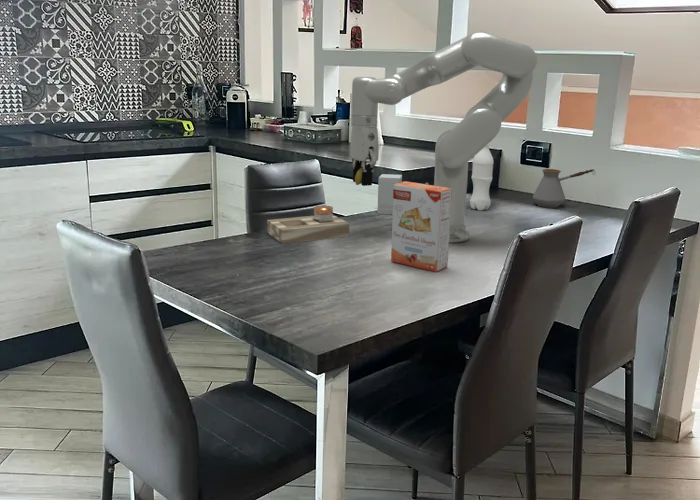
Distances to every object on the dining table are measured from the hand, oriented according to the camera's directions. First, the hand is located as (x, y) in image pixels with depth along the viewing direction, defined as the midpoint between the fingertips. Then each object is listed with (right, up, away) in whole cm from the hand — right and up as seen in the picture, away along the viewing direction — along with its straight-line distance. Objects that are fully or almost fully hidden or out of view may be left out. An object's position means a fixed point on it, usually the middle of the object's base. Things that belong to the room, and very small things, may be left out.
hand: (362, 182), depth 201 cm
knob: (0, -1, 0) cm, 1 cm away
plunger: (-12, -11, +4) cm, 17 cm away
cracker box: (+14, -24, -25) cm, 37 cm away
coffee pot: (+72, -5, +44) cm, 85 cm away
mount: (-16, -15, +3) cm, 22 cm away
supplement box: (+10, -7, +33) cm, 35 cm away
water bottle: (+42, -6, +39) cm, 58 cm away
